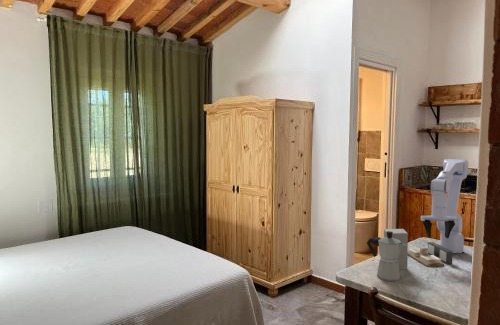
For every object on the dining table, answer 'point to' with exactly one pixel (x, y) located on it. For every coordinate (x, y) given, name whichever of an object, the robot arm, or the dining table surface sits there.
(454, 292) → the dining table surface
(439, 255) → the grey upright panel
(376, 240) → the coffee maker
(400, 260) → the skincare box
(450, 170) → the robot arm
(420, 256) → the display stand
